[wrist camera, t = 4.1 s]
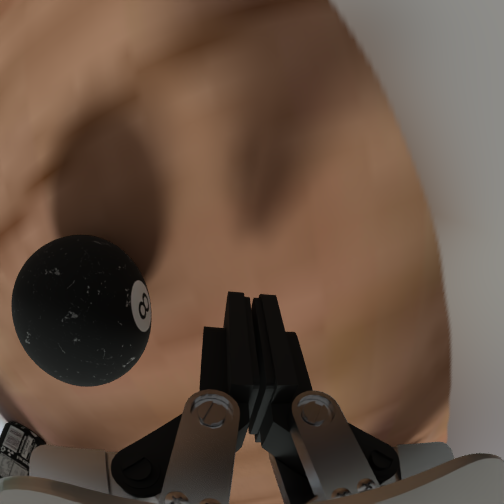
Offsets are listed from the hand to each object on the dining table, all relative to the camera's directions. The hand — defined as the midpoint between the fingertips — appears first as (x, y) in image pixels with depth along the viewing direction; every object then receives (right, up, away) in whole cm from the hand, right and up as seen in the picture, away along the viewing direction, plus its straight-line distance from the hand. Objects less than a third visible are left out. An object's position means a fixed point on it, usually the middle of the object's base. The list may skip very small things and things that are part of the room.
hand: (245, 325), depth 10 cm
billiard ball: (-7, +2, +3) cm, 7 cm away
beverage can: (-29, -21, +11) cm, 37 cm away
